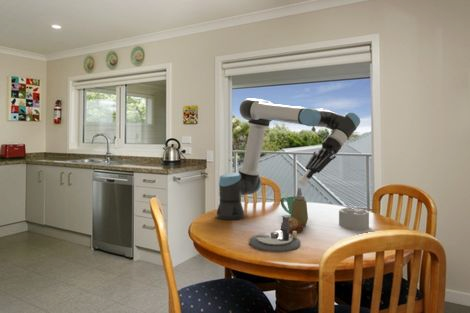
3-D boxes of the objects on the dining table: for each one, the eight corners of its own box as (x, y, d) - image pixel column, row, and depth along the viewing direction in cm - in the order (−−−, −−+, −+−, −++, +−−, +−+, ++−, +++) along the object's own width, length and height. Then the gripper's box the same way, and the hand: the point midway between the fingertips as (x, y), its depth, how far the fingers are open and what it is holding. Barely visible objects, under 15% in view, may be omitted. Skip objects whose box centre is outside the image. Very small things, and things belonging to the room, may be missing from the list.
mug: (308, 216, 165) (308, 197, 165) (298, 219, 158) (298, 200, 158) (286, 212, 176) (286, 194, 175) (275, 215, 169) (275, 197, 169)
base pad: (242, 248, 116) (242, 237, 116) (257, 233, 135) (257, 224, 134) (295, 254, 109) (295, 243, 109) (303, 238, 127) (303, 228, 127)
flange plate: (252, 243, 118) (252, 217, 117) (263, 231, 132) (263, 208, 132) (288, 247, 113) (288, 219, 112) (296, 235, 127) (296, 210, 127)
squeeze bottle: (308, 223, 150) (308, 187, 150) (307, 227, 143) (307, 189, 142) (292, 222, 153) (292, 186, 152) (289, 226, 145) (289, 189, 145)
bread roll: (282, 235, 143) (274, 220, 143) (301, 225, 144) (294, 210, 143) (287, 242, 133) (279, 226, 133) (308, 231, 134) (300, 215, 133)
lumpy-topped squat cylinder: (361, 231, 136) (361, 212, 136) (334, 226, 146) (334, 208, 145) (371, 226, 144) (371, 208, 143) (344, 221, 153) (344, 204, 153)
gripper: (349, 148, 126) (316, 191, 121) (329, 148, 139) (298, 187, 133) (339, 135, 124) (305, 178, 119) (319, 136, 136) (287, 175, 131)
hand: (301, 183), depth 126 cm, fingers closed
